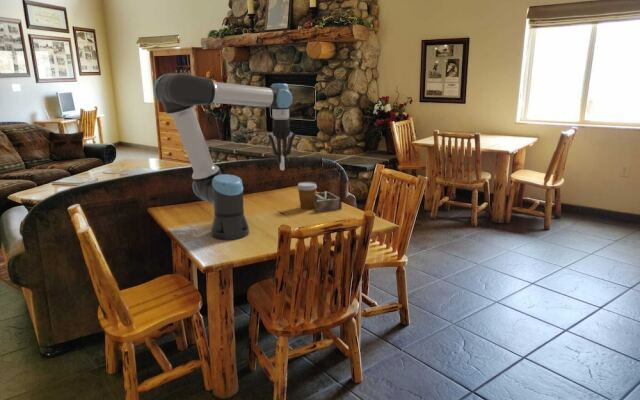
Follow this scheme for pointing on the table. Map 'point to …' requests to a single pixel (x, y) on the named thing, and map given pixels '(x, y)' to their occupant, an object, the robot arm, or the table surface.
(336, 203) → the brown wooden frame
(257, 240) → the table surface
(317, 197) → the gauge plunger
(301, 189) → the disposable coffee cup
